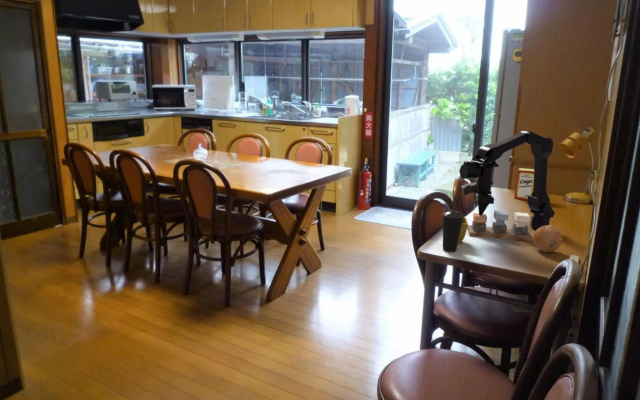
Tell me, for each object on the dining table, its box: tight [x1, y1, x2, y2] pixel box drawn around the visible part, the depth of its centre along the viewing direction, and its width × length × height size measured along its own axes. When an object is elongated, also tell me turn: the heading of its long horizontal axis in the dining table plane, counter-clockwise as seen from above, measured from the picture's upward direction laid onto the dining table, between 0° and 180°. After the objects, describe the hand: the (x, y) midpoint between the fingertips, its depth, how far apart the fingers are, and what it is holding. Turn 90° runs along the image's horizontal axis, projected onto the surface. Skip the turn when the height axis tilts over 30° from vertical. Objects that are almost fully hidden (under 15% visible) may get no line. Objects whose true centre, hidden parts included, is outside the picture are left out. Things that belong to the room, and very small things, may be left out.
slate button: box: [493, 210, 510, 226], centre depth 193 cm, size 5×5×5 cm
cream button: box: [513, 211, 531, 228], centre depth 191 cm, size 5×5×5 cm
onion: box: [532, 224, 563, 253], centre depth 176 cm, size 10×10×10 cm
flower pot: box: [458, 216, 469, 245], centre depth 183 cm, size 9×9×9 cm
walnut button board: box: [467, 220, 534, 242], centre depth 194 cm, size 24×10×4 cm, turn 79°
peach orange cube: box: [472, 212, 488, 224], centre depth 195 cm, size 5×5×5 cm
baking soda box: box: [513, 167, 534, 201], centre depth 255 cm, size 10×6×16 cm
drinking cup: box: [441, 196, 465, 253], centre depth 173 cm, size 8×8×20 cm
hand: (480, 215), depth 194 cm, fingers closed, pressing on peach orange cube
